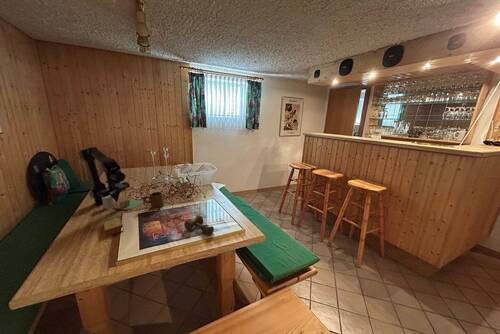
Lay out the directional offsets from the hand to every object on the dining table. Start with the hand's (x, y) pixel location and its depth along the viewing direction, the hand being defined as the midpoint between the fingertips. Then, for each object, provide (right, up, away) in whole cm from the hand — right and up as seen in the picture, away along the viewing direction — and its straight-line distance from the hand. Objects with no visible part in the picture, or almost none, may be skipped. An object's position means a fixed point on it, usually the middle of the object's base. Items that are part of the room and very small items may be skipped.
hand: (116, 201), depth 128 cm
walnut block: (0, -3, 0) cm, 3 cm away
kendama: (+60, -12, -20) cm, 64 cm away
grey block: (-9, -5, +6) cm, 12 cm away
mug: (+22, -5, +6) cm, 23 cm away
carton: (+10, -12, -18) cm, 24 cm away
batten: (0, -6, +3) cm, 7 cm away
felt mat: (+3, -4, +10) cm, 11 cm away
